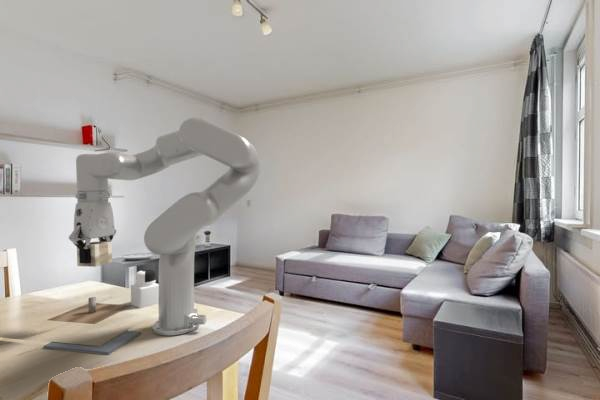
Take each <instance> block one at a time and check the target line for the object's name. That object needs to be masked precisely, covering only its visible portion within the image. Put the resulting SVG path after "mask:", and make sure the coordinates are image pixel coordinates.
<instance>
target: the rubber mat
mask: <svg viewBox="0 0 600 400" xmlns="http://www.w3.org/2000/svg"><path fill="white" fill-rule="evenodd" d="M141 334H142V331H140V330H139V331H136V330H125V331H123V332H122V333H120V334H119V335H117V336H115V337H113V338H111V339H110V340H108V341H107V342H105V343H103V344H102V345H91V344H80V343H71V342H70V343H68V342H59V341H58V342H57V341H50V342H48V343H46V344H44V345H43V349H48V350H57V351H58V350H59V351H69V352H77V353H78V352H79V353H87V354H90V353H91V354H99V355H110V354H112V353H113V352H115V351H116V350H118V349H120V348H121V347H122V346H124V345H125V344H128V343H129V342H130V341H132V340H133V339H135V338H137V337H138V336H140V335H141Z"/></svg>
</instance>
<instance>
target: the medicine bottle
mask: <svg viewBox="0 0 600 400" xmlns="http://www.w3.org/2000/svg"><path fill="white" fill-rule="evenodd" d="M156 273H157V272H156V270H153V269H142V270H139V271H137V272H136V273H135V276H136V277H135V283H134V284H131V286H130V305H132V306H135V307H137V309H138V308H139V309H143V308H147V307H151V306H154V305H159V283H156V281H157V280H156V278H157V277H156Z"/></svg>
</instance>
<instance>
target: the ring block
mask: <svg viewBox="0 0 600 400" xmlns="http://www.w3.org/2000/svg"><path fill="white" fill-rule="evenodd" d="M112 246H113V245H112V241H111V242H100V241H92V242H91V241H90V244H89V248H88V249H90V250H91V263H80V259H79V249H77V248H76V260H77V262H76V265H77V267H92V268H93V267H94V268H96V267H100V266H102V265H108V264H110V263H113V247H112Z"/></svg>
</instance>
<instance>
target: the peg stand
mask: <svg viewBox="0 0 600 400" xmlns="http://www.w3.org/2000/svg"><path fill="white" fill-rule="evenodd" d="M132 306H133V305H132V304H129V305H128V304H127V305H126V304H116V303H115V304H114V303H104V302H103V303H100V302H97V297H95V296H92V297H91V296H90V297H88V303H86V304H83V305H81V306H78V307H75V308H73V309H71V310H68V311H66V312H63V313H60V314H59V315H56V316H53V317H51V318H48V319H47V321H53V322H64V323H65V322H66V323H76V324H77V323H78V324H79V323H81V324H91V325H96V324H98V323H100V322H102V321H104V320H106V319H109V318H110V317H112V316H114V315H116V314H118V313H120V312H123V311H124V310H126V309H128V308H130V307H132Z"/></svg>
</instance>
